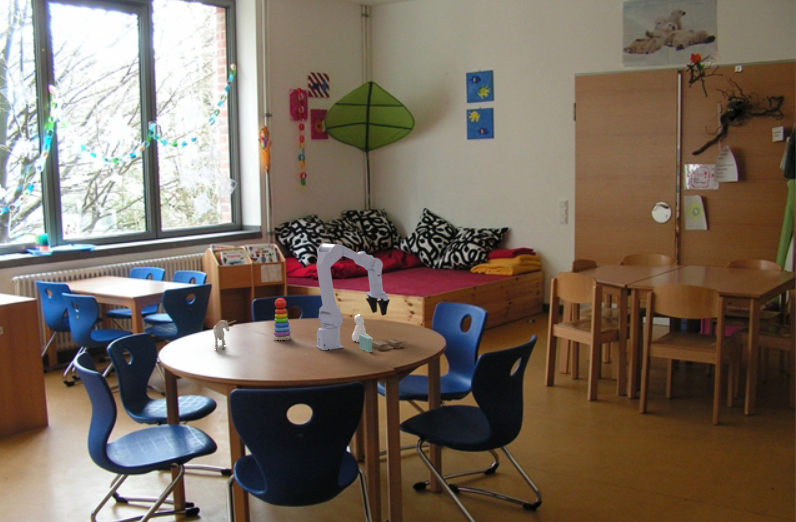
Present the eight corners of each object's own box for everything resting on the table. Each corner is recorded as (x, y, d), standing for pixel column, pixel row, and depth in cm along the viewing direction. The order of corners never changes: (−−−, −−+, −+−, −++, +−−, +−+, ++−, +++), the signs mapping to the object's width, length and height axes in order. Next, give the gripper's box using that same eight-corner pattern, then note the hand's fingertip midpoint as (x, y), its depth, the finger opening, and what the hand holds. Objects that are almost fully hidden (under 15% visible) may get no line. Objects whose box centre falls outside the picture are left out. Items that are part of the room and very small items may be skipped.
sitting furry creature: (373, 342, 329) (373, 315, 327) (354, 344, 326) (353, 316, 325) (368, 338, 338) (367, 311, 336) (349, 339, 335) (348, 313, 334)
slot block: (378, 350, 312) (378, 344, 312) (371, 347, 318) (371, 341, 318) (403, 347, 317) (402, 341, 317) (395, 344, 323) (395, 338, 323)
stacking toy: (293, 337, 342) (291, 296, 340) (289, 341, 334) (287, 299, 332) (276, 337, 343) (274, 296, 341) (271, 341, 335) (269, 299, 333)
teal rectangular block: (368, 353, 309) (368, 338, 308) (359, 348, 317) (359, 334, 316) (372, 352, 310) (371, 338, 309) (363, 348, 318) (362, 334, 317)
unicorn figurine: (221, 354, 313) (219, 322, 311) (205, 346, 329) (203, 315, 327) (237, 351, 316) (236, 320, 315) (221, 343, 333) (219, 313, 331)
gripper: (392, 284, 332) (395, 314, 335) (374, 280, 344) (377, 309, 347) (379, 287, 328) (382, 317, 331) (361, 283, 340) (365, 312, 343)
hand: (379, 313), depth 338 cm, fingers open, 7 cm apart
